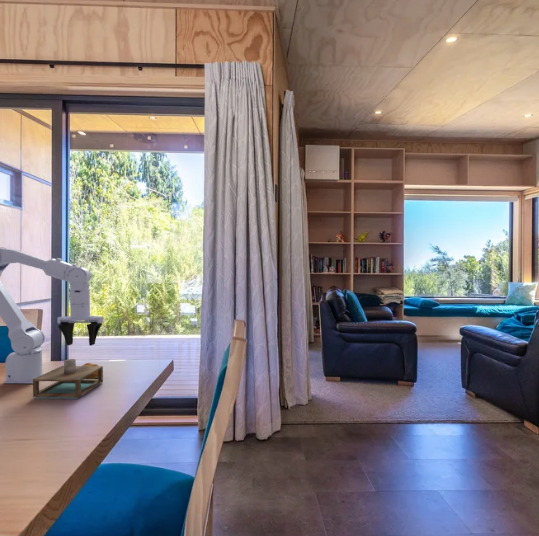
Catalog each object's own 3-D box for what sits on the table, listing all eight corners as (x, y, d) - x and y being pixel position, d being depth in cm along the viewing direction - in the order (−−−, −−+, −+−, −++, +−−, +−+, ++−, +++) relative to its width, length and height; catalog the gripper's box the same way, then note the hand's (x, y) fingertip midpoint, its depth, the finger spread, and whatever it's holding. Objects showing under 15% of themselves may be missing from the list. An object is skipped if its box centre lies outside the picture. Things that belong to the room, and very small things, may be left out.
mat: (35, 398, 100) (35, 396, 100) (61, 383, 112) (61, 382, 112) (77, 398, 99) (77, 397, 99) (99, 384, 111) (99, 382, 111)
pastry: (108, 377, 119) (107, 365, 119) (86, 382, 114) (86, 370, 114) (95, 371, 125) (95, 360, 125) (74, 376, 120) (74, 365, 120)
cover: (33, 396, 100) (32, 366, 100) (62, 381, 113) (61, 354, 113) (78, 397, 99) (78, 366, 99) (102, 381, 112) (102, 354, 112)
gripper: (50, 305, 116) (51, 347, 116) (94, 305, 115) (95, 347, 115) (64, 302, 123) (65, 342, 123) (106, 302, 122) (106, 342, 122)
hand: (80, 344), depth 119 cm, fingers open, 7 cm apart
